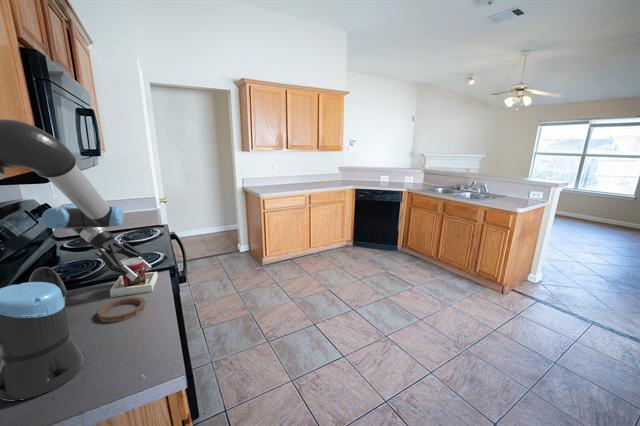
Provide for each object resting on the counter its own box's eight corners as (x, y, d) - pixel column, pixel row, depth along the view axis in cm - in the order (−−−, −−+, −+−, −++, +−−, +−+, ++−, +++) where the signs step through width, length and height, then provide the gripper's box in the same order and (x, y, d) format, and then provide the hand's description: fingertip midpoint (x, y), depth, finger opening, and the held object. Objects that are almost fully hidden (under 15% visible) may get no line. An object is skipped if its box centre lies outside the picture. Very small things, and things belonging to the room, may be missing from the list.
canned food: (128, 292, 110) (124, 266, 108) (121, 286, 115) (117, 261, 112) (149, 284, 116) (146, 260, 114) (141, 279, 121) (138, 255, 118)
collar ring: (140, 317, 94) (140, 312, 94) (92, 325, 89) (91, 320, 89) (148, 299, 106) (148, 294, 106) (106, 305, 101) (105, 300, 101)
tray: (152, 291, 112) (151, 284, 111) (110, 297, 107) (109, 290, 106) (157, 277, 125) (157, 271, 124) (120, 282, 119) (120, 276, 119)
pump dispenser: (39, 317, 93) (31, 275, 90) (22, 311, 96) (13, 270, 93) (75, 303, 102) (68, 264, 99) (58, 298, 106) (51, 260, 103)
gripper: (110, 235, 122) (151, 269, 126) (68, 251, 101) (118, 291, 104) (121, 223, 121) (162, 258, 125) (81, 237, 100) (131, 278, 104)
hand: (142, 273), depth 115 cm, fingers open, 9 cm apart
